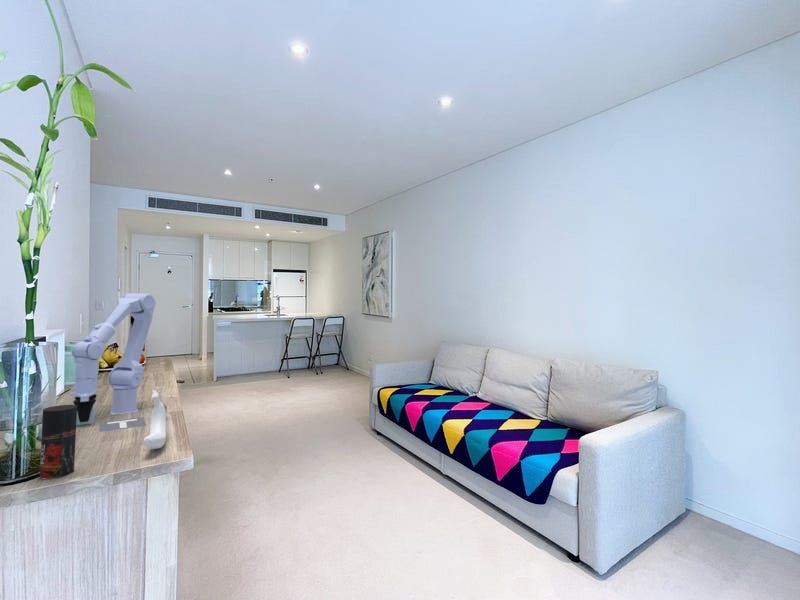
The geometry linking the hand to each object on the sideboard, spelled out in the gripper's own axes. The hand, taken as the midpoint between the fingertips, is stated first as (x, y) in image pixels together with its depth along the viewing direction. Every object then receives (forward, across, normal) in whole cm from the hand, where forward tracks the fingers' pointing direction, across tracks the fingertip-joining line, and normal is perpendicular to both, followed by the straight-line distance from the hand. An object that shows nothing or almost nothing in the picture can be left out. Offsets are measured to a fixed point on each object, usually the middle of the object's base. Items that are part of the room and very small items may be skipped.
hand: (84, 419), depth 125 cm
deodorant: (+2, +44, -3) cm, 45 cm away
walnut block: (-1, +9, +18) cm, 20 cm away
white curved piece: (+2, +37, +16) cm, 41 cm away
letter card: (+1, +8, +10) cm, 13 cm away
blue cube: (+1, 0, 0) cm, 1 cm away
